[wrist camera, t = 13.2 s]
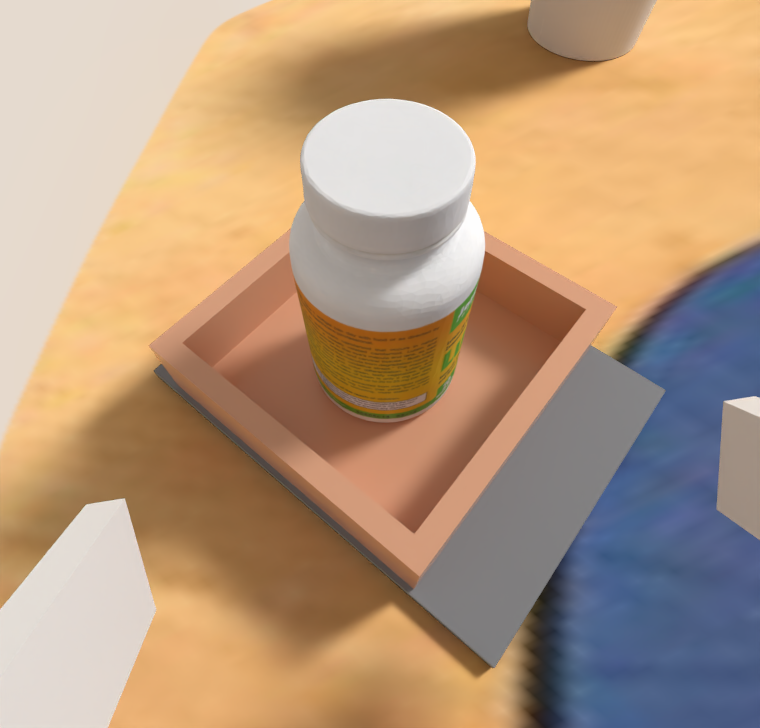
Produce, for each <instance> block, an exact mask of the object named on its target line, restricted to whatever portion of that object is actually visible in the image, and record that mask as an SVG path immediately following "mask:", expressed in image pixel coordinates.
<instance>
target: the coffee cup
mask: <svg viewBox="0 0 760 728" xmlns="http://www.w3.org/2000/svg"><path fill="white" fill-rule="evenodd" d="M656 1H657V0H531V4H530V10H529V17H528V23H527V26H528V31H529V33H530V35H531V36H532V38H533V39H534V40H535V41H536V42H537V43H538V44H540V45H541V46H542V47H544V48H545V49H547V50H549V51H551V52H553V53H555V54H558V55H561V56H564V57H567V58H571V59H576V60H583V61H603V60H610V59H614V58H617V57H620V56H622V55H624V54H626V53H628V52H629V51H630V50H631V49H632V48H633V47H634V45H635V43H636V41H637V39H638V37H639V35H640V33H641V31H642V29H643V27H644V25H645V23H646V21H647V19H648V17H649V15H650V13H651V11H652V9H653V7H654V5H655V3H656Z"/></svg>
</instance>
